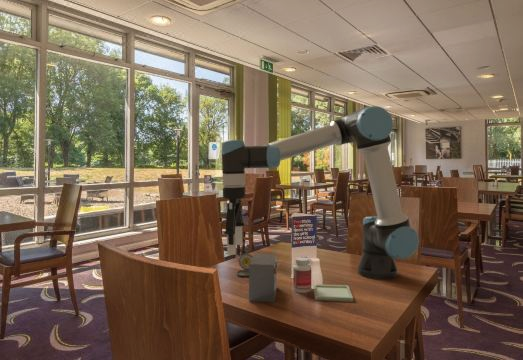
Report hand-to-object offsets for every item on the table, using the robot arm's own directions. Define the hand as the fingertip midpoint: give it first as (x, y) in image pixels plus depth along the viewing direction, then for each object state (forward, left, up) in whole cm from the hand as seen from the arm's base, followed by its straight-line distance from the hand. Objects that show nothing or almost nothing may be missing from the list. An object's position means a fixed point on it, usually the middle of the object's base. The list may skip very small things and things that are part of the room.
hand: (235, 249), depth 125 cm
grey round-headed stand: (-1, -22, -15) cm, 27 cm away
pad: (-33, -2, -15) cm, 36 cm away
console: (-10, 0, -15) cm, 18 cm away
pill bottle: (-23, -5, -15) cm, 28 cm away
